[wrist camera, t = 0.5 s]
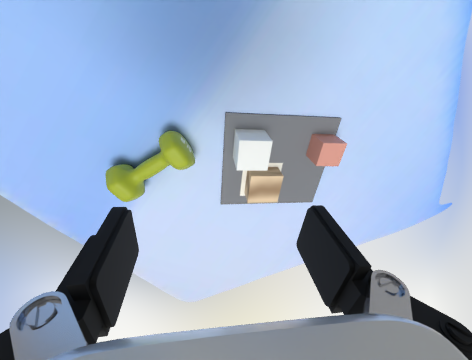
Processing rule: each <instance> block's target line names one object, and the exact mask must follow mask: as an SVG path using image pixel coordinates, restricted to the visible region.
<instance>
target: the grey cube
mask: <svg viewBox="0 0 472 360" xmlns="http://www.w3.org/2000/svg"><path fill="white" fill-rule="evenodd" d="M272 143H273V141H272V140H271V138H270V137H269V135H268V134H267V133H266V131H265V130H253V129H235V135H234V147H233V159H234V163H235V166H236V170H242V171H267V170H268V164H269V159H270V154H271V148H272Z"/></svg>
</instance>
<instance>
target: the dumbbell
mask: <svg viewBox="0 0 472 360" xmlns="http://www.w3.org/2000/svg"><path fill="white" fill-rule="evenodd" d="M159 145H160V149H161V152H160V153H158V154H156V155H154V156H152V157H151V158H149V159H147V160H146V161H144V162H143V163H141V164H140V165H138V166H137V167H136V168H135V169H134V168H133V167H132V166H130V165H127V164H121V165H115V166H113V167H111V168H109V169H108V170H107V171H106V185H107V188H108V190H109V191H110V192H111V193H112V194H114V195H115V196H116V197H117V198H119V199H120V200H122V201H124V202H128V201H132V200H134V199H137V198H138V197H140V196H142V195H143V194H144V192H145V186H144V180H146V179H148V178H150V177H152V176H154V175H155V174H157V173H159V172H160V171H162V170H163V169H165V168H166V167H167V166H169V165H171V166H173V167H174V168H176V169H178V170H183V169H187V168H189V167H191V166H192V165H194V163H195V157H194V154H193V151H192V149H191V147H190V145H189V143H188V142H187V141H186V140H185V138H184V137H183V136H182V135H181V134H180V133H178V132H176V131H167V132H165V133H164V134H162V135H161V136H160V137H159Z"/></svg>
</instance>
